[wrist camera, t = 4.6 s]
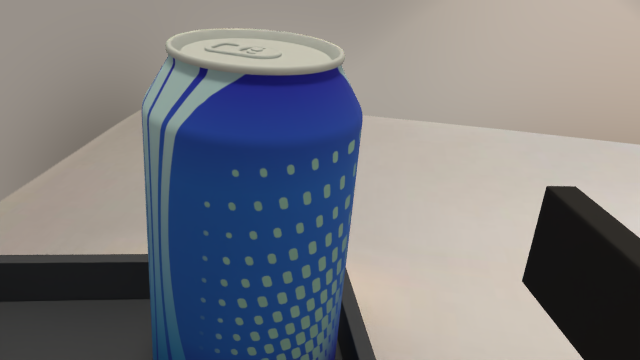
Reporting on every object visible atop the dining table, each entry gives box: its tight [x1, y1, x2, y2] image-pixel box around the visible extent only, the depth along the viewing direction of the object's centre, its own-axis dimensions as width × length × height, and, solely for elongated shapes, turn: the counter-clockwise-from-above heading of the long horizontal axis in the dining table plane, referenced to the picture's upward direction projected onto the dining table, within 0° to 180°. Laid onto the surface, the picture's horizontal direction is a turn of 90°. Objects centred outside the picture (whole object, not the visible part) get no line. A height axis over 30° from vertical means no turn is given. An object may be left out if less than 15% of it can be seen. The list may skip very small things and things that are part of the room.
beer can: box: [142, 28, 362, 360], centre depth 25 cm, size 8×8×16 cm
